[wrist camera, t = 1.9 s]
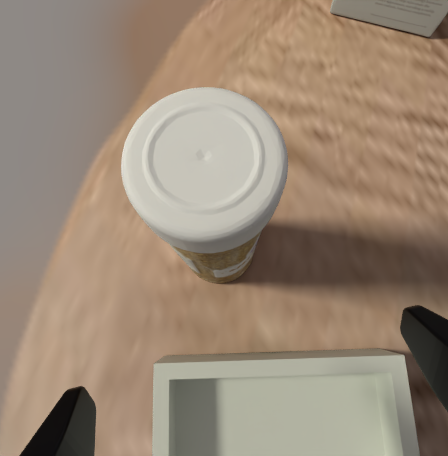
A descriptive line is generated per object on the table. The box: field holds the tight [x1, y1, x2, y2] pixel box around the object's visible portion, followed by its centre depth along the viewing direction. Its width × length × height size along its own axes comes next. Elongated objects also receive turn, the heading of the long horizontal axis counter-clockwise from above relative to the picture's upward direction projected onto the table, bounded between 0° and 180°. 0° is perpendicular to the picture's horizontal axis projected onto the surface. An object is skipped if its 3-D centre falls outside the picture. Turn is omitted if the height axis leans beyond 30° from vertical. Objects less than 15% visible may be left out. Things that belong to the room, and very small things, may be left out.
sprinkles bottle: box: [121, 87, 288, 283], centre depth 15 cm, size 5×5×13 cm
